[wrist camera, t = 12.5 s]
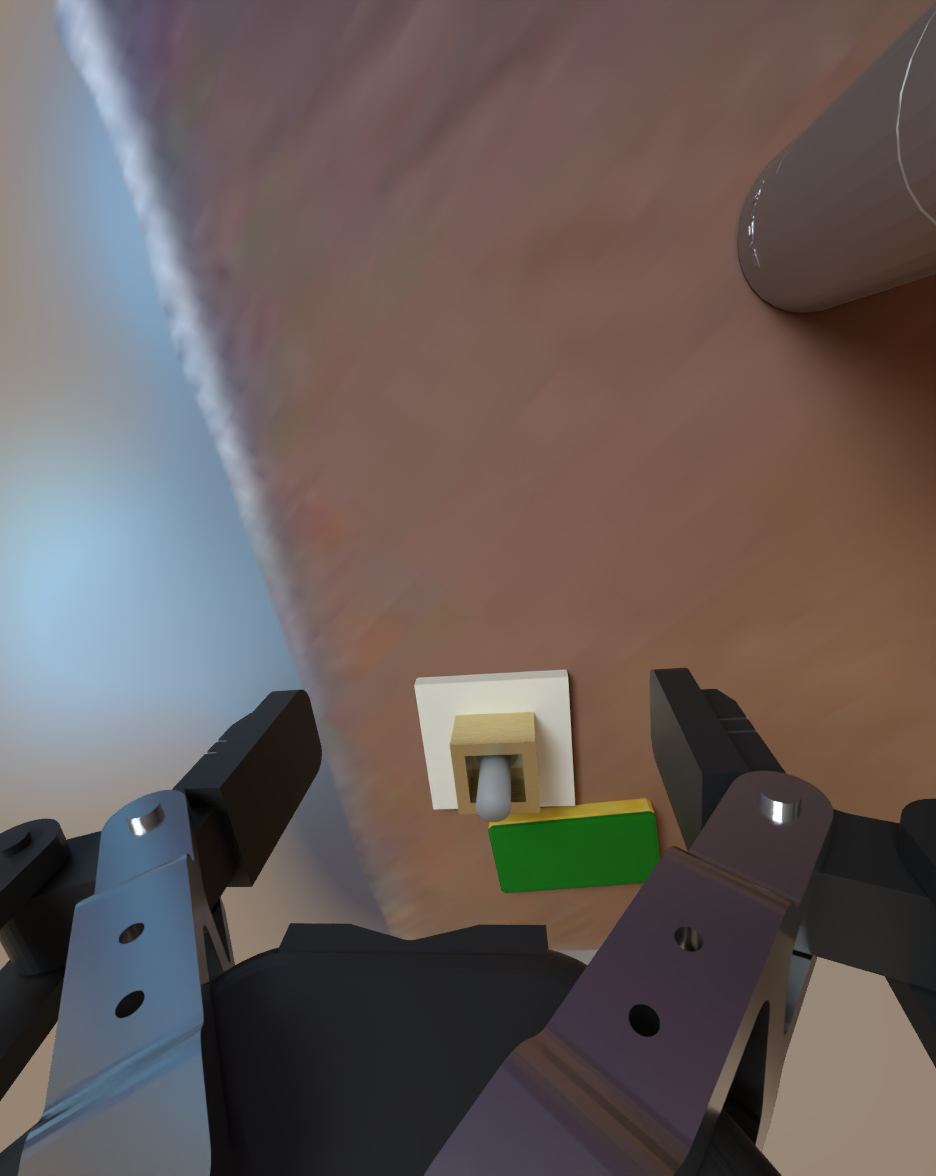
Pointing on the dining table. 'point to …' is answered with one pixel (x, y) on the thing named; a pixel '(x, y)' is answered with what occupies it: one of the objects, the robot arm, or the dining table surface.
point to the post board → (499, 701)
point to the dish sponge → (576, 846)
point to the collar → (495, 739)
